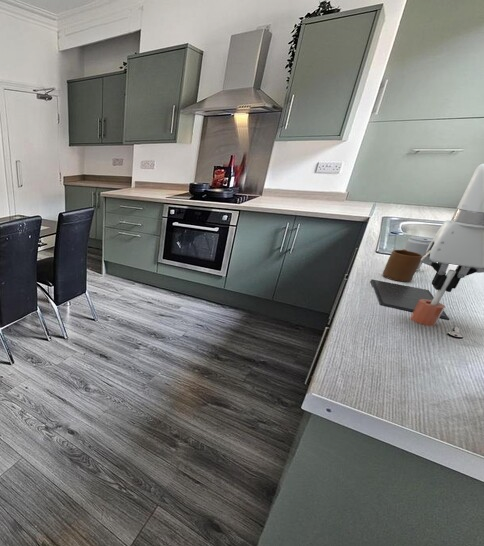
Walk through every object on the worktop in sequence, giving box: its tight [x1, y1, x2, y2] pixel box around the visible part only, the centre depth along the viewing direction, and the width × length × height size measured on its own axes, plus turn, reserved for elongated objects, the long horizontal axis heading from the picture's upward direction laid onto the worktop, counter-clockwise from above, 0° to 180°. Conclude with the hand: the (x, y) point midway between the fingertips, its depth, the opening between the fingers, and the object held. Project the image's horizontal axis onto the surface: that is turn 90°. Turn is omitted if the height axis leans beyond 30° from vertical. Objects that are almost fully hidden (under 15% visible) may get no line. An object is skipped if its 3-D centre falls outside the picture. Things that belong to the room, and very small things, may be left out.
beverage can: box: [403, 236, 433, 271], centre depth 117 cm, size 6×6×12 cm
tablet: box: [370, 278, 451, 321], centre depth 96 cm, size 14×22×1 cm, turn 144°
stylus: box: [431, 269, 456, 305], centre depth 79 cm, size 1×1×13 cm
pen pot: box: [409, 299, 446, 327], centre depth 82 cm, size 5×5×6 cm
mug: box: [382, 248, 422, 283], centre depth 111 cm, size 12×8×9 cm, turn 141°
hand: (441, 288), depth 79 cm, fingers closed on stylus, 1 cm apart
